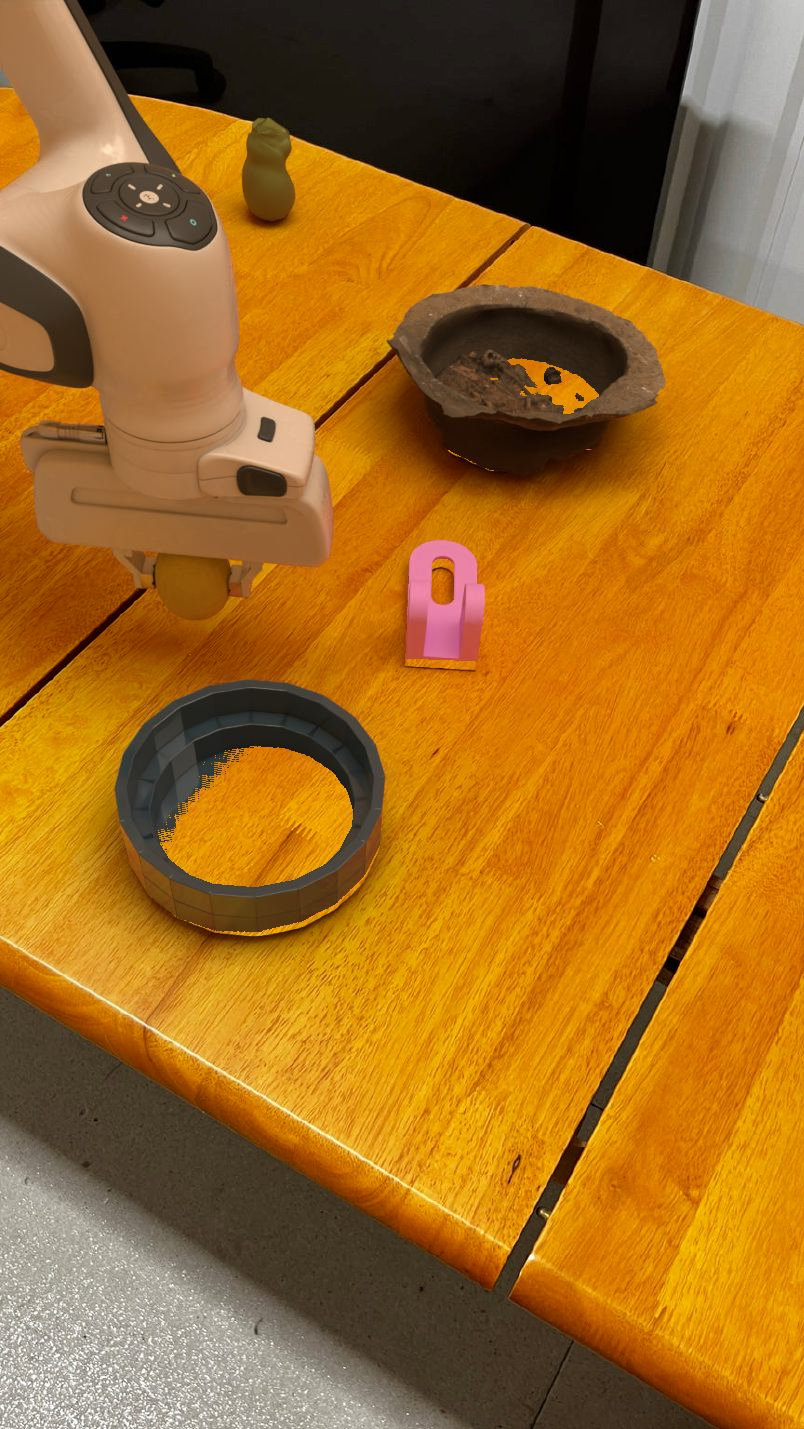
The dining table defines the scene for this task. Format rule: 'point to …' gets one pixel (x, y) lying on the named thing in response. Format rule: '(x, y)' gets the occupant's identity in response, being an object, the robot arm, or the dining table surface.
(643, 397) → the stone bowl
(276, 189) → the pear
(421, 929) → the dining table surface
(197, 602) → the lemon
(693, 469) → the dining table surface
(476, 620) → the bracket
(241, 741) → the dark grey round ring
